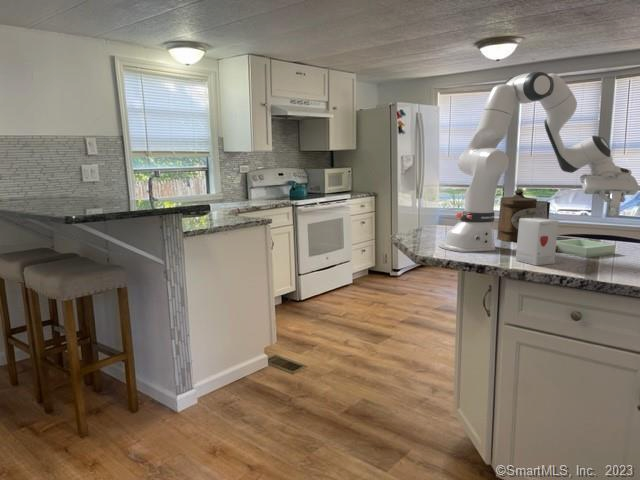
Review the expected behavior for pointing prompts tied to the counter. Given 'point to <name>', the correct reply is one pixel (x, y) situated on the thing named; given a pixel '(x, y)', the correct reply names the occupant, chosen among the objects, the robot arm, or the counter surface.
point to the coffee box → (542, 209)
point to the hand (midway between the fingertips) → (615, 201)
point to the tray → (585, 248)
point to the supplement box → (536, 241)
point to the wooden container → (514, 215)
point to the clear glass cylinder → (614, 204)
